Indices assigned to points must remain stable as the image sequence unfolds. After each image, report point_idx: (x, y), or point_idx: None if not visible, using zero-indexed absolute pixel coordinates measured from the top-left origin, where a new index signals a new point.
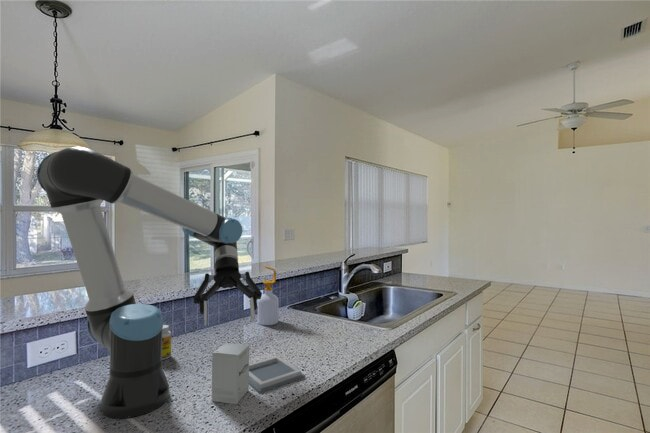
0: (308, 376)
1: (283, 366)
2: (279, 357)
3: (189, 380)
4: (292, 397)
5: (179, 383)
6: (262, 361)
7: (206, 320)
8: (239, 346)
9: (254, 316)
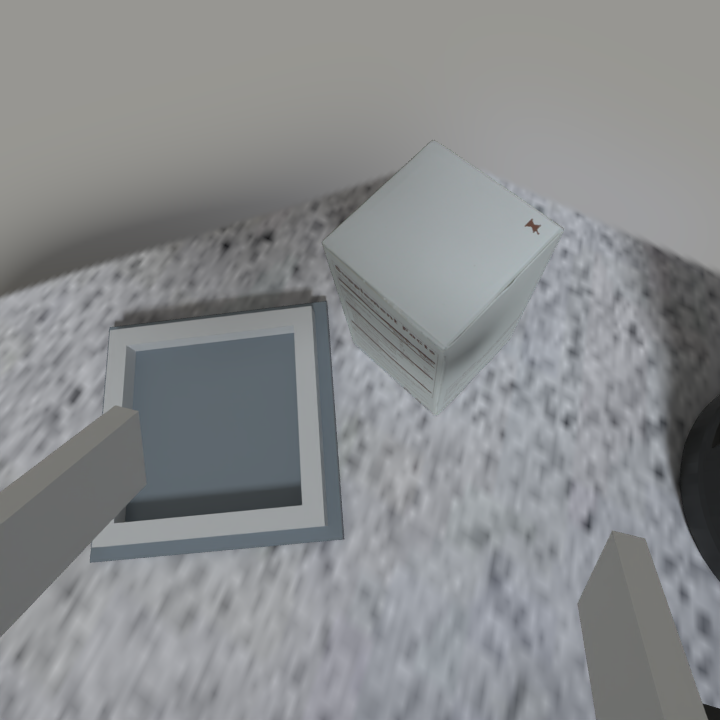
0: (98, 330)
1: None
2: None
3: (574, 585)
4: (240, 228)
5: None
6: (193, 521)
7: (616, 534)
8: (385, 239)
9: (119, 407)
